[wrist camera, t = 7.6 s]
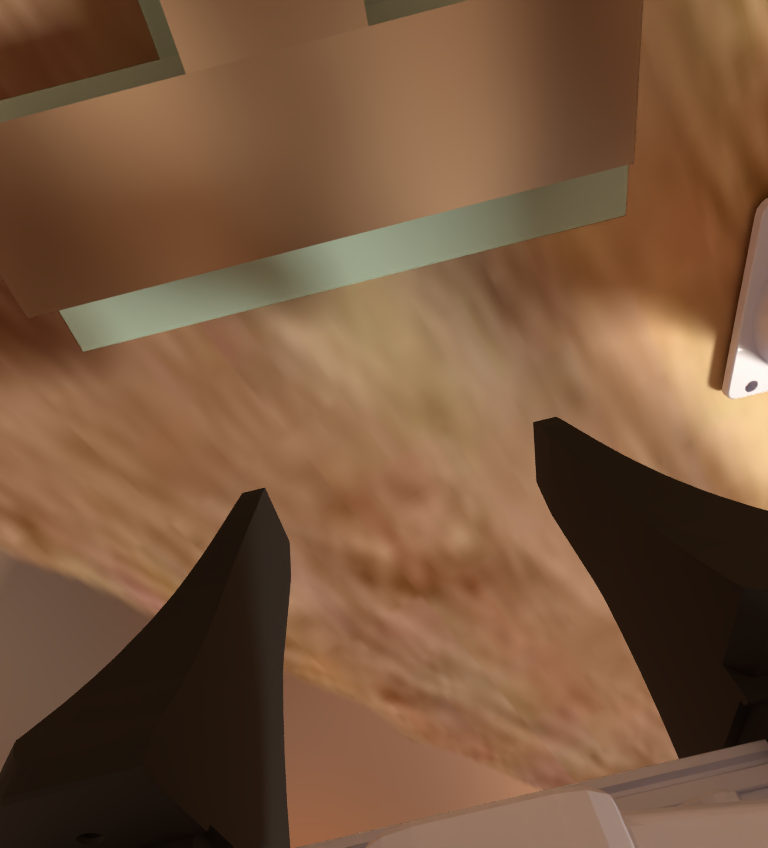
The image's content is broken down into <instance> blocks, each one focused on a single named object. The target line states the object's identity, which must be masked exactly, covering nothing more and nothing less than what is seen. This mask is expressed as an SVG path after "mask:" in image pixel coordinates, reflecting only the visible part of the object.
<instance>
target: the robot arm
mask: <svg viewBox="0 0 768 848" xmlns="http://www.w3.org/2000/svg"><path fill="white" fill-rule="evenodd" d="M749 382H750V383H749ZM748 383H749V384H748ZM747 384H748V385H747ZM746 385H747V386H746ZM767 391H768V198H766V199H765V200H764V201H763V202H762V203H761V204H760V205H759V207H758V208H757V211H756V213H755V218H754V223H753V228H752V233H751V239H750V244H749V249H748V254H747V260H746V265H745V270H744V275H743V281H742V286H741V291H740V296H739V302H738V307H737V312H736V318H735V323H734V328H733V333H732V339H731V344H730V349H729V354H728V360H727V365H726V370H725V375H724V381H723V386H722V392H723V394H724V395H725V396H727V397H728V398H730V399H738V398H742V397H746V396H750V395H754V394H758V393H762V392H767ZM533 426H534V444H535V463H536V481H537V484H538V486H539V488H540V491H541V493H542V495H543V497H544V499H545V502H546V504H547V506H548V508H549V510H550V512H551V514H552V516H553V517H554V519H555V520H556V522H557V524H558V525H559V527H560V528H561V530H562V532H563V533H564V535H565V536H566V538H567V539H568V541H569V543H570V544H571V546H572V547H573V549H574V550H575V552H576V553H577V555H578V557H579V558H580V560H581V561H582V563H583V564H584V566H585V568H586V569H587V571H588V572H589V574H590V575H591V577H592V578H593V580H594V582H595V583H596V585H597V587H598V588H599V590H600V592H601V593H602V595H603V597H604V599H605V601H606V603H607V605H608V607H609V609H610V611H611V613H612V615H613V617H614V619H615V620H616V622H617V624H618V626H619V628H620V630H621V632H622V634H623V637H624V639H625V641H626V643H627V645H628V647H629V649H630V651H631V653H632V655H633V657H634V659H635V661H636V664H637V666H638V668H639V670H640V672H641V674H642V676H643V679H644V681H645V683H646V685H647V687H648V689H649V692H650V694H651V696H652V698H653V700H654V703H655V705H656V707H657V709H658V711H659V714H660V716H661V718H662V720H663V723H664V725H665V727H666V730H667V732H668V734H669V737H670V739H671V741H672V744H673V746H674V748H675V751H676V753H677V755H678V758H679V759H677V760H673V761H669V762H664V763H660V764H656V765H651V766H647V767H643V768H638V769H634V770H630V771H625V772H621V773H617V774H612V775H608V776H604V777H599V778H595V779H591V780H586V781H582V782H578V783H574V784H569V785H565V786H561V787H556V788H552V789H548V790H543V791H539V792H535V793H531V794H526V795H522V796H517V797H513V798H509V799H504V800H500V801H496V802H491V803H487V804H483V805H478V806H474V807H470V808H465V809H461V810H457V811H452V812H448V813H444V814H440V815H435V816H431V817H427V818H422V819H418V820H414V821H409V822H405V823H400V824H396V825H392V826H388V827H383V828H379V829H375V830H370V831H366V832H362V833H357V834H353V835H349V836H344V837H340V838H336V839H332V840H327V841H323V842H319V843H314V844H310V845H306V846H301V847H297V848H768V511H767V510H763V509H760V508H756V507H752V506H749V505H746V504H743V503H740V502H736V501H733V500H730V499H727V498H724V497H721V496H718V495H715V494H712V493H709V492H706V491H704V490H701V489H698V488H696V487H693V486H691V485H688V484H686V483H683V482H680V481H678V480H675V479H673V478H671V477H668V476H666V475H664V474H661V473H659V472H657V471H655V470H653V469H651V468H649V467H647V466H645V465H642V464H640V463H638V462H636V461H634V460H632V459H630V458H628V457H626V456H624V455H623V454H621V453H619V452H617V451H615V450H613V449H611V448H610V447H608V446H606V445H604V444H602V443H601V442H599V441H597V440H595V439H594V438H592V437H590V436H589V435H587V434H585V433H583V432H582V431H580V430H578V429H577V428H575V427H573V426H572V425H570V424H568V423H567V422H565V421H563V420H561V419H560V418H558V417H553V418H549V419H545V420H541V421H537V422H533ZM290 582H291V563H290V543H289V540H288V537H287V535H286V533H285V531H284V529H283V526H282V524H281V522H280V520H279V518H278V515H277V513H276V511H275V509H274V507H273V504H272V502H271V500H270V498H269V496H268V493H267V491H266V489H265V488H261V489H257V490H253V491H249V492H245V493H242V495H241V496H240V498H239V499H238V501H237V502H236V504H235V505H234V507H233V509H232V510H231V512H230V513H229V515H228V517H227V518H226V520H225V521H224V523H223V525H222V526H221V528H220V529H219V531H218V532H217V534H216V535H215V537H214V539H213V540H212V542H211V543H210V545H209V546H208V548H207V549H206V551H205V552H204V554H203V555H202V557H201V558H200V559H199V561H198V562H197V563H196V565H195V566H194V568H193V569H192V570H191V572H190V573H189V574H188V576H187V577H186V579H185V580H184V581H183V583H182V584H181V585H180V587H179V588H178V589H177V590H176V592H175V593H174V594H173V595H172V597H171V598H170V599H169V600H168V601H167V603H166V604H165V605H164V606H163V607H162V608H161V610H160V611H159V612H158V613H157V614H156V615H155V617H154V618H153V619H152V620H151V621H150V622H149V623H148V624H147V625H146V626H145V627H144V628H143V629H142V631H141V632H140V633H139V634H138V635H137V636H136V637H135V638H134V639H133V640H132V641H131V642H130V643H129V644H128V645H127V646H126V647H125V648H124V649H123V650H122V651H121V652H120V653H119V654H118V655H117V656H116V657H115V658H114V659H113V660H112V661H111V662H110V663H109V664H108V665H107V666H105V667H104V668H103V669H102V670H101V671H100V672H99V673H98V674H97V675H96V676H95V677H94V678H92V679H91V680H90V681H89V682H88V683H87V684H85V685H84V686H83V687H82V688H81V689H80V690H79V691H78V692H76V693H75V694H74V695H73V696H72V697H70V698H69V699H68V700H67V701H66V702H65V703H63V704H62V705H61V706H60V707H58V708H57V709H56V710H54V711H53V712H52V713H51V714H49V715H48V716H47V717H46V718H44V719H43V720H42V721H41V722H40V723H38V724H37V725H36V726H34V727H33V728H32V729H31V730H29V731H28V732H27V733H26V734H24V735H23V736H22V737H21V738H19V739H18V740H16V742H15V743H14V745H13V747H12V749H11V751H10V754H9V756H8V758H7V760H6V762H5V764H4V766H3V768H2V770H1V772H0V848H290V839H289V826H288V825H289V824H288V811H287V794H286V774H285V755H284V724H283V723H284V721H283V661H284V648H285V638H286V627H287V616H288V605H289V594H290Z"/></svg>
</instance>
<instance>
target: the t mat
mask: <svg viewBox="0 0 768 848" xmlns="http://www.w3.org/2000/svg"><path fill="white" fill-rule="evenodd" d="M463 1H467V0H364V4H365V10H366V15H367V21H368V26H371V25H375V24H379V23H383V22H387V21H391V20H394V19H398V18H402V17H406V16H410V15H413V14H417V13H421V12H425V11H429V10H433V9H436V8H440V7H444V6H448V5H452V4H455V3H459V2H463ZM138 2H139V4H140V7H141V10H142V12H143V15H144V18H145V20H146V23H147V26H148V28H149V31H150V34H151V37H152V39H153V42H154V45H155V47H156V50H157V53H158V55H159V58H160V60H156V61H152V62H148V63H144V64H140V65H136V66H132V67H129V68H125V69H121V70H117V71H113V72H109V73H105V74H101V75H97V76H94V77H90V78H86V79H82V80H78V81H74V82H70V83H66V84H62V85H59V86H55V87H51V88H47V89H43V90H39V91H35V92H31V93H28V94H24V95H20V96H16V97H12V98H8V99H4V100H0V123H1V122H5V121H8V120H12V119H16V118H20V117H24V116H27V115H31V114H35V113H39V112H43V111H47V110H50V109H54V108H58V107H62V106H66V105H70V104H73V103H77V102H81V101H85V100H89V99H92V98H96V97H100V96H104V95H108V94H112V93H115V92H119V91H123V90H127V89H131V88H134V87H138V86H142V85H146V84H150V83H154V82H157V81H161V80H165V79H169V78H173V77H177V76H180V75H184V74H186V73H185V70H184V67H183V64H182V62H181V59H180V56H179V53H178V50H177V48H176V45H175V42H174V39H173V36H172V34H171V31H170V28H169V25H168V23H167V20H166V17H165V14H164V11H163V9H162V6H161V3H160V0H138ZM627 183H628V165H625V166H621V167H617V168H613V169H609V170H606V171H602V172H598V173H594V174H590V175H586V176H582V177H578V178H574V179H570V180H567V181H563V182H559V183H555V184H551V185H547V186H543V187H539V188H535V189H531V190H528V191H524V192H520V193H516V194H512V195H508V196H504V197H500V198H496V199H492V200H489V201H485V202H481V203H477V204H473V205H469V206H465V207H461V208H457V209H453V210H450V211H446V212H442V213H438V214H434V215H430V216H426V217H422V218H418V219H414V220H411V221H407V222H403V223H399V224H395V225H391V226H387V227H383V228H379V229H375V230H372V231H368V232H364V233H360V234H356V235H352V236H348V237H344V238H340V239H337V240H333V241H329V242H325V243H321V244H317V245H313V246H309V247H305V248H301V249H298V250H294V251H290V252H286V253H282V254H278V255H274V256H270V257H266V258H262V259H259V260H255V261H251V262H247V263H243V264H239V265H235V266H231V267H227V268H223V269H220V270H216V271H212V272H208V273H204V274H200V275H196V276H192V277H188V278H184V279H181V280H177V281H173V282H169V283H165V284H161V285H157V286H153V287H149V288H145V289H142V290H138V291H134V292H130V293H126V294H122V295H118V296H114V297H110V298H106V299H103V300H99V301H95V302H91V303H87V304H83V305H79V306H75V307H71V308H67V309H64V310H60V311H59V312H60V314H61V315H62V317H63V319H64V320H65V322H66V324H67V325H68V327H69V329H70V330H71V332H72V334H73V335H74V337H75V339H76V340H77V342H78V344H79V345H80V347H81V349H82V350H83V352H84V351H88V350H92V349H96V348H100V347H104V346H108V345H112V344H116V343H120V342H124V341H128V340H132V339H136V338H140V337H144V336H148V335H152V334H156V333H160V332H164V331H168V330H172V329H176V328H180V327H184V326H187V325H191V324H195V323H199V322H203V321H207V320H211V319H215V318H219V317H223V316H227V315H231V314H235V313H239V312H243V311H247V310H251V309H255V308H259V307H263V306H267V305H271V304H275V303H279V302H283V301H287V300H291V299H295V298H299V297H303V296H307V295H311V294H315V293H319V292H323V291H327V290H331V289H335V288H339V287H343V286H347V285H350V284H354V283H358V282H362V281H366V280H370V279H374V278H378V277H382V276H386V275H390V274H394V273H398V272H402V271H406V270H410V269H414V268H418V267H422V266H426V265H430V264H434V263H438V262H442V261H446V260H450V259H454V258H458V257H462V256H466V255H470V254H474V253H478V252H482V251H486V250H490V249H494V248H498V247H502V246H506V245H510V244H513V243H517V242H521V241H525V240H529V239H533V238H537V237H541V236H545V235H549V234H553V233H557V232H561V231H565V230H569V229H573V228H577V227H581V226H585V225H589V224H593V223H597V222H601V221H605V220H609V219H613V218H617V217H621V216H625V215H626V201H627Z"/></svg>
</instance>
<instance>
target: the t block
mask: <svg viewBox="0 0 768 848" xmlns="http://www.w3.org/2000/svg"><path fill="white" fill-rule="evenodd" d="M160 3H161V6H162V9H163V11H164V14H165V17H166V20H167V23H168V25H169V28H170V31H171V34H172V36H173V39H174V42H175V45H176V48H177V50H178V53H179V56H180V59H181V62H182V64H183V67H184V70H185V73H186V74H184V75H180V76H177V77H173V78H169V79H165V80H161V81H157V82H154V83H150V84H146V85H142V86H138V87H134V88H131V89H127V90H123V91H119V92H115V93H112V94H108V95H104V96H100V97H96V98H92V99H89V100H85V101H81V102H77V103H73V104H70V105H66V106H62V107H58V108H54V109H50V110H47V111H43V112H39V113H35V114H31V115H27V116H24V117H20V118H16V119H12V120H8V121H5V122H1V123H0V277H1V278H2V280H3V281H4V283H5V284H6V286H7V287H8V289H9V290H10V292H11V294H12V295H13V297H14V298H15V300H16V301H17V303H18V304H19V306H20V307H21V309H22V311H23V312H24V314H25V315H26V317H27V318H32V317H36V316H40V315H44V314H48V313H52V312H56V311H60V310H64V309H67V308H71V307H75V306H79V305H83V304H87V303H91V302H95V301H99V300H103V299H106V298H110V297H114V296H118V295H122V294H126V293H130V292H134V291H138V290H142V289H145V288H149V287H153V286H157V285H161V284H165V283H169V282H173V281H177V280H181V279H184V278H188V277H192V276H196V275H200V274H204V273H208V272H212V271H216V270H220V269H223V268H227V267H231V266H235V265H239V264H243V263H247V262H251V261H255V260H259V259H262V258H266V257H270V256H274V255H278V254H282V253H286V252H290V251H294V250H298V249H301V248H305V247H309V246H313V245H317V244H321V243H325V242H329V241H333V240H337V239H340V238H344V237H348V236H352V235H356V234H360V233H364V232H368V231H372V230H375V229H379V228H383V227H387V226H391V225H395V224H399V223H403V222H407V221H411V220H414V219H418V218H422V217H426V216H430V215H434V214H438V213H442V212H446V211H450V210H453V209H457V208H461V207H465V206H469V205H473V204H477V203H481V202H485V201H489V200H492V199H496V198H500V197H504V196H508V195H512V194H516V193H520V192H524V191H528V190H531V189H535V188H539V187H543V186H547V185H551V184H555V183H559V182H563V181H567V180H570V179H574V178H578V177H582V176H586V175H590V174H594V173H598V172H602V171H606V170H609V169H613V168H617V167H621V166H625V165H629V164H633V163H634V151H635V133H636V116H637V98H638V80H639V63H640V45H641V27H642V10H643V0H467V1H463V2H459V3H455V4H452V5H448V6H444V7H440V8H436V9H433V10H429V11H425V12H421V13H417V14H413V15H410V16H406V17H402V18H398V19H394V20H391V21H387V22H383V23H379V24H375V25H371V26H368V21H367V15H366V10H365V4H364V0H160Z"/></svg>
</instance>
